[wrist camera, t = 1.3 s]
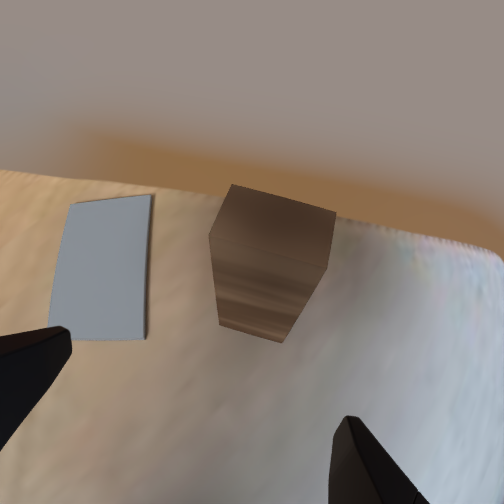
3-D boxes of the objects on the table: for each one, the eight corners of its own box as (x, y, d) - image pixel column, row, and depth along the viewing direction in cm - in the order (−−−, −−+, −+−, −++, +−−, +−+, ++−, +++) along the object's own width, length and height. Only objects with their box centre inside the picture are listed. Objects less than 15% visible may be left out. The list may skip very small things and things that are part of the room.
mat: (145, 339, 22) (143, 337, 22) (49, 339, 22) (46, 337, 21) (151, 198, 29) (150, 194, 29) (72, 207, 28) (70, 204, 28)
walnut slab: (281, 343, 23) (326, 268, 12) (219, 324, 24) (208, 234, 13) (291, 308, 25) (336, 212, 14) (231, 291, 25) (231, 183, 14)
